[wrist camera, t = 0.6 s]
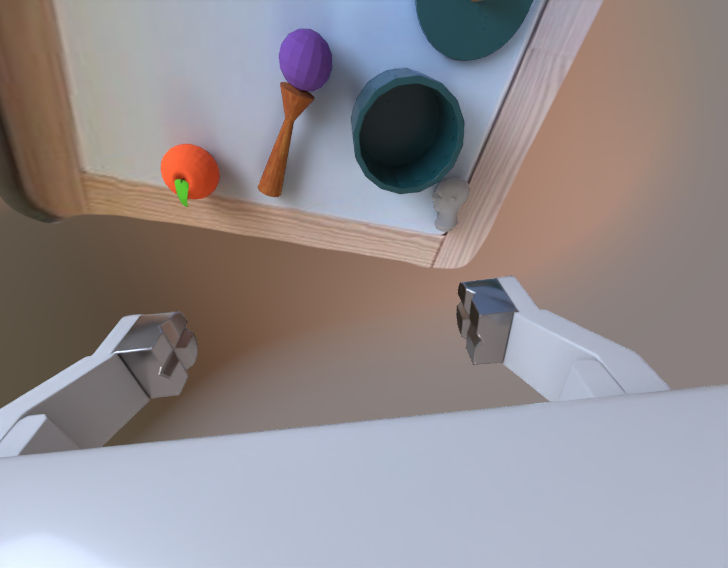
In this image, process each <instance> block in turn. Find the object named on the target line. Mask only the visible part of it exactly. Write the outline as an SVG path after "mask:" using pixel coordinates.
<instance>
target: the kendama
mask: <svg viewBox="0 0 728 568" xmlns="http://www.w3.org/2000/svg"><path fill="white" fill-rule="evenodd" d="M279 62H280V68H281V70H282V73H283V75H284V77H285V79H286V80H287V81H288V82H289V83H286V82H281V83H280V86H281V92H282V99H283V106H284V112H285V120H284V123H283V125H282V128H281V130H280V133H279V135H278V138H277V140H276V143H275V145H274V148H273V150H272V153H271V155H270V158H269V160H268V163H267V165H266V168H265V170H264V172H263V175H262V177H261V180H260V182H259V185H258V189H259V191H260V192H262V193H263V194H265V195H268V196H271V197H279V196H281V192H282V186H283V181H284V175H285V169H286V163H287V158H288V152H289V146H290V141H291V135H292V129H293V123H294V121H295V120H296V119H297V117H298V116H299V115H300V114H301V113H302V112H303V111H304V110H305V109H306V108H307V107H308V106H309V104H310V103H311V102H312V101H313V100H314V96H313V95H312V94H311V93H309V92H311V91H315V90H317V89H319V88H322V86H323V85H324V84H325V83H326V82H327V81H328V79H329V76H330V73H331V70H332V54H331V51H330V49H329V46H328V43H327V42H326V41H325V40H324V39H323V38H322V37H321V35H320V34H319V33H317V32H315V31H313V30H311V29H298V30H296V31H294V32H292V33H290V34H288V36H287V37H286V38H285V40H284V41H283V43H282V44H281V48H280V53H279ZM308 91H309V92H308Z"/></svg>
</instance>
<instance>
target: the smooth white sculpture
mask: <svg viewBox="0 0 728 568" xmlns="http://www.w3.org/2000/svg"><path fill="white" fill-rule="evenodd" d="M469 193H470V187H469V185H468V183H467V182H466V181H465V180H463V179H461V178H456V177H453V178H449V179H446V180H444V181H443V182H441V183H440V184H439V185H438V186H437V188H436V191H435V192H434V193H433V195H432V197H431V198H432V200H433V203H434V207H433V208H434V210H435V211H437V212H439V215H438V219H437V220H436V221H435V222H434V223H435V225H436V228H437V229H438V230H441V231H451V230H452V229H453V228H454V227H455V226H456V225H457V224H458V220H457V214H458V210H459V208H460V207H461V206H462V205H463V204H464V203H465V201H466V200H467V199H468V197H469Z"/></svg>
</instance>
